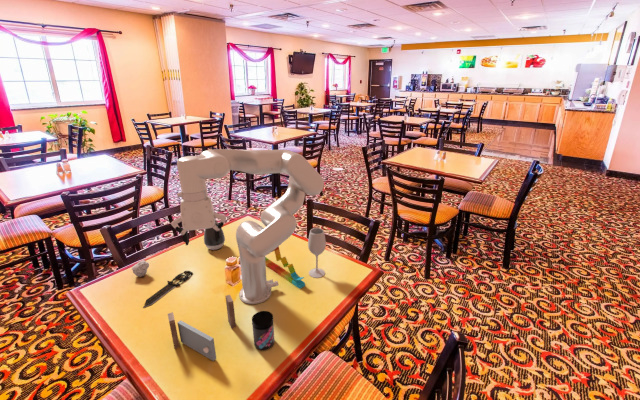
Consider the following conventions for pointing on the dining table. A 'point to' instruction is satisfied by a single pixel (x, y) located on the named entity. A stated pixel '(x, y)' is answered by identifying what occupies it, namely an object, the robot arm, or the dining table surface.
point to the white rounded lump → (140, 268)
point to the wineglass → (316, 249)
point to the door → (197, 340)
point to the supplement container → (263, 330)
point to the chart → (291, 276)
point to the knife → (167, 288)
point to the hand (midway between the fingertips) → (202, 241)
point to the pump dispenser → (213, 238)
